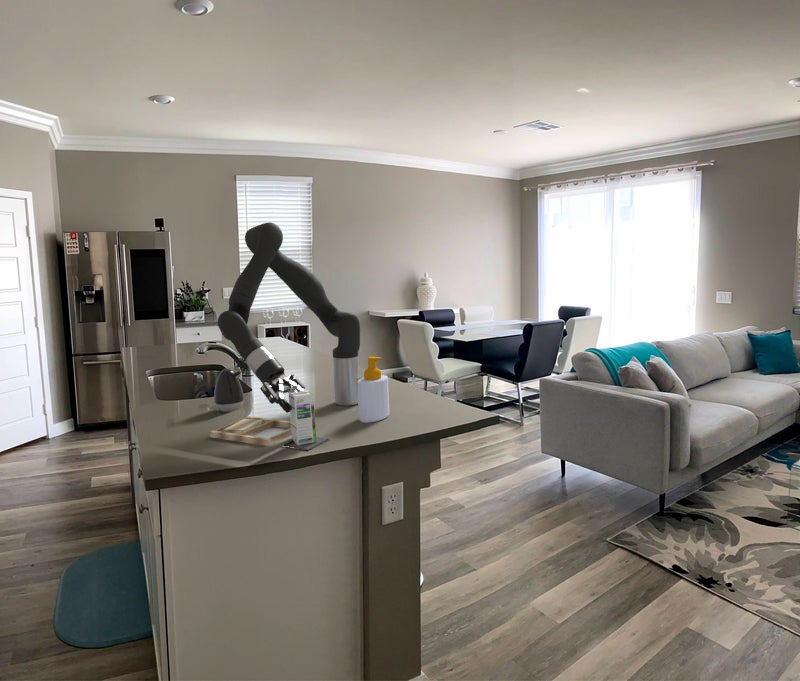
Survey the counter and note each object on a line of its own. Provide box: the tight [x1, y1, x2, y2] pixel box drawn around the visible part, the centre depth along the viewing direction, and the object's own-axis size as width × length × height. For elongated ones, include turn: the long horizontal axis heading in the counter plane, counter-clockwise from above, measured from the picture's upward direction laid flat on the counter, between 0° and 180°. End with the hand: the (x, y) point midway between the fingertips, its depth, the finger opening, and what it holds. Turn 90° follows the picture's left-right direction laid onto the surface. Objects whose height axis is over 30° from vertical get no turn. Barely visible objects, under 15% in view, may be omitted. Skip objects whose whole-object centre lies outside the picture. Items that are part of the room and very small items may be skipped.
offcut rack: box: [209, 416, 292, 447], centre depth 174 cm, size 22×17×3 cm
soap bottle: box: [357, 356, 390, 424], centre depth 189 cm, size 13×8×20 cm, turn 148°
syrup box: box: [288, 389, 317, 445], centre depth 166 cm, size 6×6×14 cm
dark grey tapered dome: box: [213, 368, 245, 413], centre depth 205 cm, size 10×10×15 cm
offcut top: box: [224, 418, 262, 434], centre depth 177 cm, size 6×11×2 cm, turn 163°
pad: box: [283, 436, 330, 452], centre depth 167 cm, size 10×10×1 cm
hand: (299, 407), depth 166 cm, fingers open, 8 cm apart
